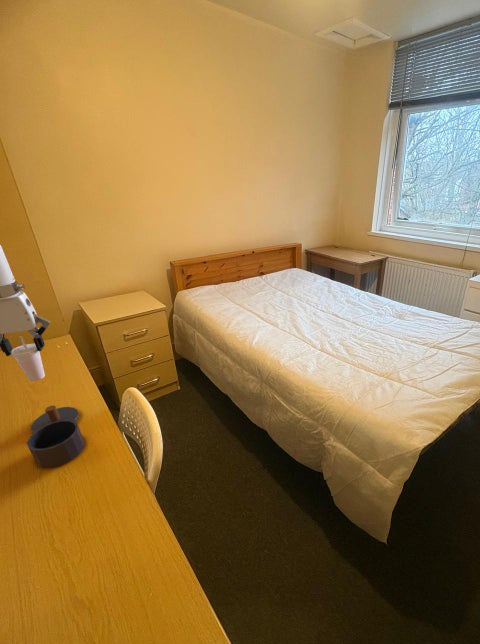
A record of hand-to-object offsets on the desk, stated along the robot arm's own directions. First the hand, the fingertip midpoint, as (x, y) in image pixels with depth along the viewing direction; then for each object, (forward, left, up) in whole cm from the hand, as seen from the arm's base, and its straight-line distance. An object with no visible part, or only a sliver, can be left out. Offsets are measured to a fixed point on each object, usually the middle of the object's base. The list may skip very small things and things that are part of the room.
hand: (25, 350), depth 90 cm
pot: (+5, -17, -25) cm, 30 cm away
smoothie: (0, 0, -9) cm, 9 cm away
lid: (+1, -3, -24) cm, 24 cm away
